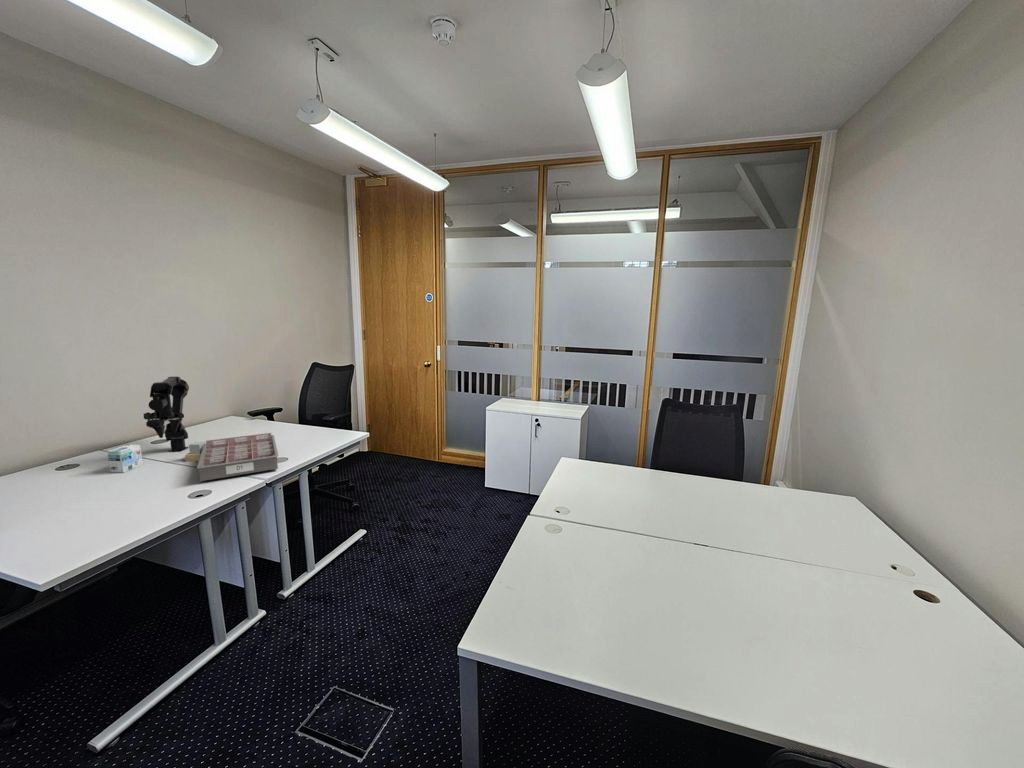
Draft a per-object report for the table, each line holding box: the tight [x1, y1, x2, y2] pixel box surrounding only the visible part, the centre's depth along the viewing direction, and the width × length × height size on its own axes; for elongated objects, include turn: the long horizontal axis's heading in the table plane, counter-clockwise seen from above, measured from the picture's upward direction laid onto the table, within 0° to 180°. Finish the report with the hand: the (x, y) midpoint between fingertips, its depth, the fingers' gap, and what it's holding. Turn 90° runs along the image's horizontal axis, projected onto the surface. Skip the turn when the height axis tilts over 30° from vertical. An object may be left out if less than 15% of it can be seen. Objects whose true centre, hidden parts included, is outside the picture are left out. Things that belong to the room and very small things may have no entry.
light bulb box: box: [107, 443, 144, 474], centre depth 201 cm, size 11×7×11 cm, turn 179°
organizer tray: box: [196, 432, 279, 482], centre depth 210 cm, size 32×40×10 cm
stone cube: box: [188, 440, 206, 454], centre depth 216 cm, size 5×5×5 cm
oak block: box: [184, 452, 201, 463], centre depth 217 cm, size 8×8×4 cm
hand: (167, 435), depth 217 cm, fingers open, 9 cm apart
